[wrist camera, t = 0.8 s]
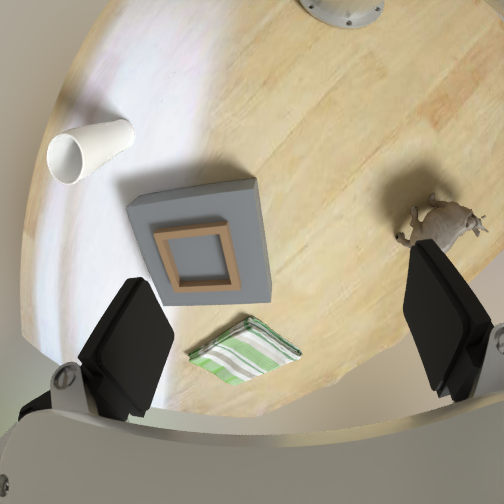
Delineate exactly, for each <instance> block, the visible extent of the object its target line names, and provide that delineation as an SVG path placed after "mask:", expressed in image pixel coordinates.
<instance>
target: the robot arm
mask: <svg viewBox="0 0 504 504" xmlns="http://www.w3.org/2000/svg"><path fill="white" fill-rule="evenodd" d="M299 1H300V3H301V4H302V6H303V7H304V9H305V10H306V11H307V12H309V13H310V14H311V15H312V16H313V17H315V18H316V19H318V20H319V21H321V22H323V23H325V24H328V25H331V26H333V27H338V28H342V29H358V28H362V27H366V26H368V25H370V24H372V23H373V22H374V21H376V20H377V19H378V18H379V17H380V15H381V14H382V12H383V8H384V0H299ZM484 1H485V2H486V3H488V4H489V5H490V6H491V7H492V8H493V9H494V10H496V11H497V12H498V13H499V14H501V15H502V16H503V17H504V0H484ZM309 7H312V9H310V8H309ZM375 9H376V10H377V11H376V10H375ZM346 23H349V25H347V24H346ZM403 313H404V316H405V319H406V321H407V323H408V326H409V328H410V331H411V333H412V336H413V338H414V341H415V344H416V346H417V349H418V352H419V354H420V357H421V360H422V363H423V365H424V368H425V371H426V374H427V377H428V380H429V383H430V386H431V389H432V390H433V391H437V394H438V397H439V398H441V397H444V396H447V395H451V398H452V400H453V403H452V404H451V405H448V406H444V407H441V408H438V409H435V410H431V411H427V412H424V413H420V414H416V415H412V416H408V417H404V418H400V419H395V420H391V421H386V422H381V423H377V424H371V425H366V426H360V427H353V428H347V429H340V430H331V431H323V432H312V433H301V434H281V435H228V434H210V433H198V432H187V431H177V430H170V429H162V428H155V427H149V426H143V425H138V424H133V423H130V422H129V420H128V415H129V413H130V414H131V415H132V416H137V417H144V415H145V412H146V410H148V409H149V408H150V405H151V403H152V400H153V397H154V394H155V391H156V388H157V385H158V382H159V379H160V377H161V374H162V371H163V368H164V365H165V363H166V360H167V357H168V354H169V352H170V349H171V346H172V344H173V341H174V331H173V329H172V327H171V326H170V324H169V322H168V320H167V318H166V316H165V314H164V312H163V310H162V308H161V306H160V304H159V303H158V301H157V299H156V297H155V295H154V292H153V290H152V288H151V286H150V284H149V283H148V281H146V280H144V279H143V278H142V277H137V278H129V279H127V280H126V281H125V283H124V284H123V286H122V287H121V288H120V290H119V291H118V293H117V294H116V296H115V297H114V299H113V300H112V302H111V304H110V305H109V307H108V308H107V310H106V311H105V313H104V314H103V316H102V317H101V319H100V321H99V322H98V324H97V325H96V327H95V329H94V330H93V332H92V334H91V335H90V337H89V338H88V340H87V342H86V343H85V345H84V347H83V349H82V350H81V352H80V354H79V355H78V359H79V360H80V361H81V362H82V365H81V367H80V366H79V365H78V364H77V363H75V362H67V363H65V364H63V365H61V366H60V367H59V368H58V369H57V370H56V371H55V372H54V374H53V376H52V378H51V382H50V389H51V390H49V391H47V392H46V393H44V394H42V395H41V396H39V397H38V398H36V399H34V400H32V401H31V402H29V403H28V404H26V405H25V406H23V407H22V408H21V410H20V414H19V418H18V422H16V423H15V424H14V425H13V426H12V427H11V428H10V429H9V430H8V431H7V432H6V433H5V434H4V435H3V436H2V437H1V438H0V504H504V323H500V324H498V325H496V326H495V327H494V326H493V324H492V322H491V319H490V317H489V315H488V314H487V312H486V311H485V309H484V307H483V306H482V304H481V303H480V301H479V300H478V298H477V297H476V295H475V294H474V292H473V291H472V290H471V288H470V287H469V285H468V284H467V283H466V281H465V280H464V278H463V277H462V276H461V274H460V273H459V272H458V270H457V269H456V268H455V266H454V265H453V264H452V262H451V261H450V260H449V259H448V257H447V256H446V255H445V254H444V252H443V251H442V250H441V249H440V247H439V246H438V245H437V244H436V243H435V241H434V240H433V239H424V240H417V241H416V242H415V245H413V246H411V250H410V259H409V268H408V276H407V284H406V291H405V297H404V303H403Z"/></svg>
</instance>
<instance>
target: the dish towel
mask: <svg viewBox="0 0 504 504" xmlns="http://www.w3.org/2000/svg"><path fill="white" fill-rule="evenodd" d="M188 356H189V357H190V359H189V361H190V362H191V363H193V364H195V365H198V366H200V367H202V368H204V369H206V370H208V371H210V372H212V373H214V374H215V375H216V376H218V377H219V378H220V379H222V380H223V381H225V382H226V383H229V384H231V385H238V384H240V383H242V382H245V381H247V380H249V379H252V378H255V377H257V376H259V375H261V374H264V373H266V372H269V371H272V370H274V369H276V368H278V367H280V366H282V365H284V364H287V363H289V362H291V361H295V360H298V359H300V358H301V357H302V352H301V350H300V349H299V348H297V347H296V346H294V345H293V344H292V343H290V342H289V341H287V340H285V339H284V338H283V337H282V336H279V335H278V334H277V333H276V332H274V331H273V330H271V329H270V328H269V327H268V326H267V325H266V324H264V323H262V322H261V321H259V320H258V319H256V318H255V317H254V316H253V317H249V318H247V319H246V320H244V321H242V322H240V323H239V324H237V325H235V326H233V327H232V328H231V329H229V330H228V331H226V332H225V333H223V334H222V335H220V336H219V337H217V338H215V339H214V340H212V341H210V342H208V343H206V344H204V345H203V346H201V347H200V348H198V349H196V350H194V351H193V352H191V353H189V355H188Z"/></svg>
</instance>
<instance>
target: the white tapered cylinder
mask: <svg viewBox="0 0 504 504" xmlns="http://www.w3.org/2000/svg"><path fill="white" fill-rule="evenodd" d="M134 140H135V130H134V127H133V126H132V124H131V123H130V122H128V121H127V120H123V119H119V120H115V121H110V122H103V123H96V124H90V125H84V126H79V127H76V128H72V129H69V130H67V131H64V132H62V133H60V134H58V135H56V136H55V137H54V138H53V139H52V140H51V142H50V143H49V146H48V149H47V164H48V168H49V170H50V172H51V174H52V176H53V177H54V178H55V179H56V180H57V181H58V182H60V183H61V184H64V185H72V184H74V183H76V182H78V181H80V180H82V179H84V178H85V177H87V176H89V175H90V174H92V173H93V172H95V171H96V170H98V169H99V168H100V167H102V166H103V165H104V164H106V163H107V162H108V161H110V160H111V159H113V158H114V157H116V156H117V155H118V154H120V153H121V152H123V151H125V150H127V149H129V148H130V147H131V146H132V144H133V142H134Z"/></svg>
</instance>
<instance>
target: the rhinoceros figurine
mask: <svg viewBox="0 0 504 504" xmlns="http://www.w3.org/2000/svg"><path fill="white" fill-rule="evenodd" d="M429 201H430V205H432V206H434V207H437V208H436V209H433V210H431V211H430V212H428V214H427V215H426V216H425V218H424V220H423V222H420V221H419V220H418V213H417V210H416V208H417V207H411V209H410V214H411V215H412V220H411V222H410V226H412V227H413V231H412V234H411V237H410V240H407V239H405V236H404V233H398V234H397V235H398V239H397V238H396V239H397V242H398V243H401V244H402V245H403V246H406V247H409V248H411V246H413V245H415V242H416V241H417V240H424V239H433V240H434V241H435V243H436V244H437V245H438V246H439V247H440V249H441V250H442V251H443V252H444V254H446V252H448V251H449V249H450V248H451V247H452V245H453V244H454V243H455V241H456V240H457V238H458V237H459V236H462V235H463V234H464V233H465V232H466V231H470V230H471V229H472V230H473V231H474V233H475V235H476V236H477V237H479V234H480V231H479V230H478V229H481V230H484V231H486V232H488V231H487V230H486V229H485V228H484V227H483V226H482V223H481V219H479V218H477V217H476V216H475V215H474V214H473V212H472V209H471V210H470V209H468V208H466V207H464V206H460V205H459V204H458V203H456V202H453V201H452V202H446V201H437V200H435V193H434V194H432V195H431V197H430V198H429ZM471 215H472V216H471ZM485 217H486V216H485V215H484V216H482V217H481V218H485Z"/></svg>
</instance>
